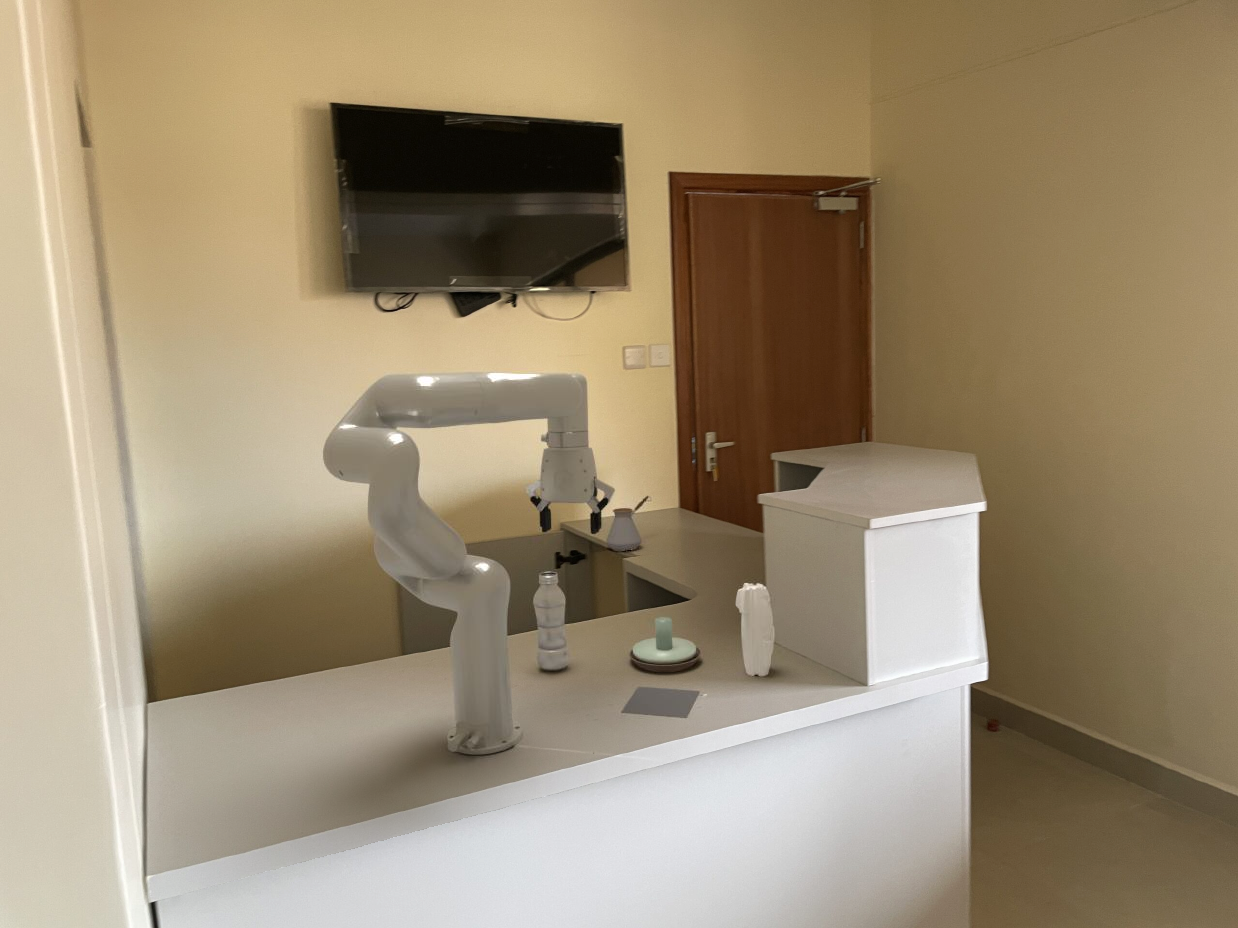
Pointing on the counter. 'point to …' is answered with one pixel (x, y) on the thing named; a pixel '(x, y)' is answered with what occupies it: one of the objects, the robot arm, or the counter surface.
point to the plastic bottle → (550, 623)
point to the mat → (661, 702)
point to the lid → (664, 646)
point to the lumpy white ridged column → (756, 628)
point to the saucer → (666, 667)
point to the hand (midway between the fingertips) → (570, 531)
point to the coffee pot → (624, 529)
